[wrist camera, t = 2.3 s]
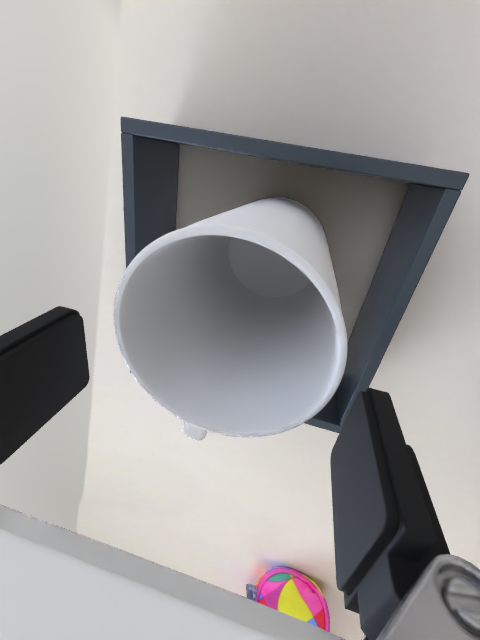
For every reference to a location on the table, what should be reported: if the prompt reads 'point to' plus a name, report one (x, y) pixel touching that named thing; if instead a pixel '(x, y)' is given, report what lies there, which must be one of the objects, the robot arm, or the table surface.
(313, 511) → the table surface
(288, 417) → the mug
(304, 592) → the pencil case
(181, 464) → the table surface
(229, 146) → the dark gray square frame
